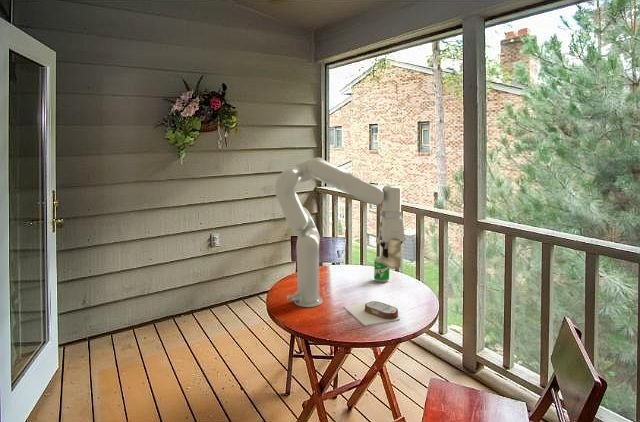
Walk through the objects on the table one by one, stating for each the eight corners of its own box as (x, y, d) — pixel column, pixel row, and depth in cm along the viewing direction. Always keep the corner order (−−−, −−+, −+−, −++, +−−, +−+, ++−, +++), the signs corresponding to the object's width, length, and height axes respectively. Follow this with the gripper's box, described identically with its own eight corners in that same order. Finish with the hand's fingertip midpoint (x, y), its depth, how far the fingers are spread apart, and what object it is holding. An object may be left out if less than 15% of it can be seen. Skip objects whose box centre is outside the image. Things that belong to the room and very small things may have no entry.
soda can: (373, 278, 225) (373, 255, 223) (388, 278, 225) (388, 255, 222) (374, 283, 217) (375, 259, 215) (390, 283, 217) (390, 259, 215)
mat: (364, 326, 168) (364, 324, 168) (343, 307, 187) (343, 306, 187) (399, 320, 174) (399, 318, 174) (375, 302, 192) (375, 301, 192)
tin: (373, 305, 188) (360, 311, 182) (373, 298, 187) (360, 304, 181) (402, 315, 177) (389, 322, 171) (402, 308, 176) (389, 315, 171)
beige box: (391, 268, 183) (392, 240, 181) (381, 263, 192) (381, 236, 190) (400, 267, 184) (400, 239, 182) (389, 262, 193) (389, 235, 192)
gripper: (377, 217, 178) (376, 260, 182) (413, 215, 184) (412, 257, 187) (369, 214, 185) (368, 256, 189) (404, 212, 191) (403, 252, 194)
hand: (390, 256), depth 188 cm, fingers closed on beige box, 4 cm apart
